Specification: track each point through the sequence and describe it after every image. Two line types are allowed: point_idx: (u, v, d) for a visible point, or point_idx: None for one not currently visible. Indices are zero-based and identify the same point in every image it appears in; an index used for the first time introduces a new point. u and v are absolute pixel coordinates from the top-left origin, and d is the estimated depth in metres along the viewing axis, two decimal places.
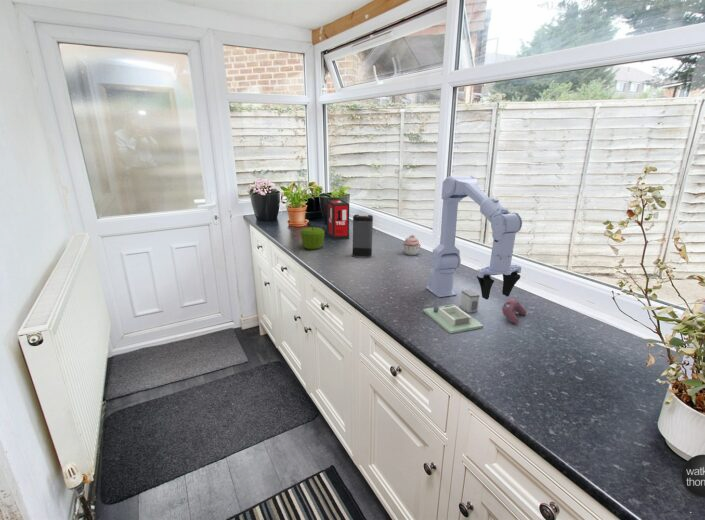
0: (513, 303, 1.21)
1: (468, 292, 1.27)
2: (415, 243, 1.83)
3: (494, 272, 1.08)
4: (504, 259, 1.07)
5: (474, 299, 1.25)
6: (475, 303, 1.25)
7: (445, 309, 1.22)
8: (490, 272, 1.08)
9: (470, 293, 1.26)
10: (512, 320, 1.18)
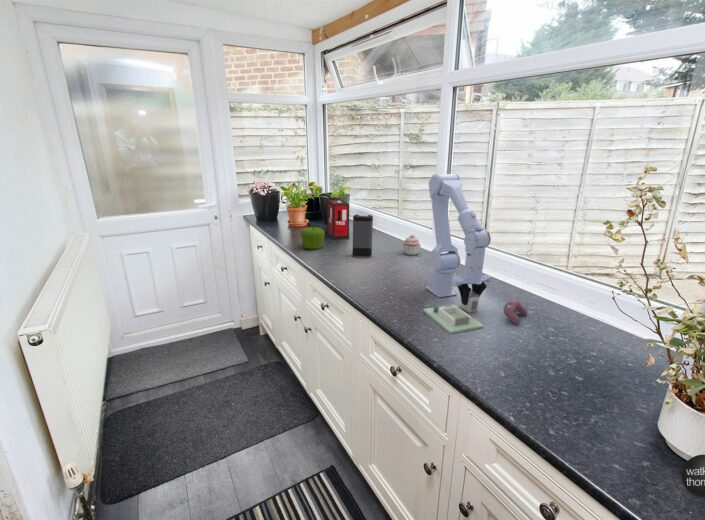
0: (514, 303, 1.20)
1: None
2: (415, 243, 1.83)
3: (467, 282, 1.22)
4: (475, 270, 1.21)
5: (474, 299, 1.25)
6: (475, 303, 1.25)
7: (445, 309, 1.22)
8: (463, 282, 1.22)
9: (470, 293, 1.26)
10: (513, 320, 1.18)
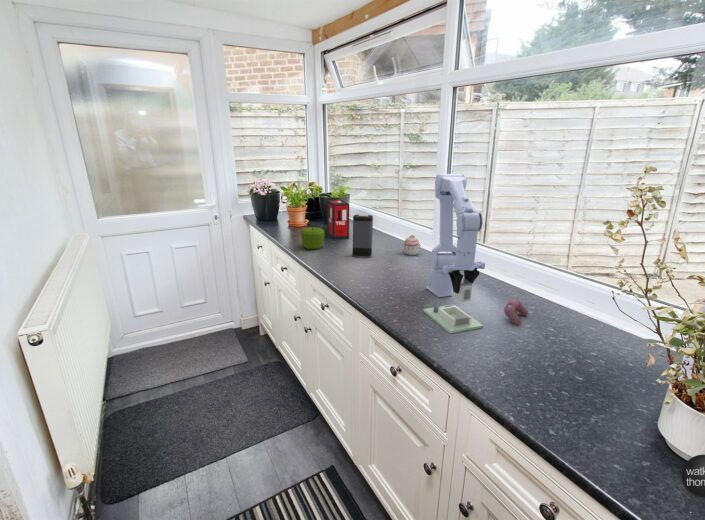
0: (515, 304, 1.20)
1: None
2: (415, 243, 1.83)
3: (458, 268, 1.14)
4: (467, 255, 1.13)
5: (467, 288, 1.16)
6: (468, 292, 1.16)
7: (445, 309, 1.22)
8: (454, 268, 1.14)
9: (462, 281, 1.17)
10: (514, 321, 1.18)
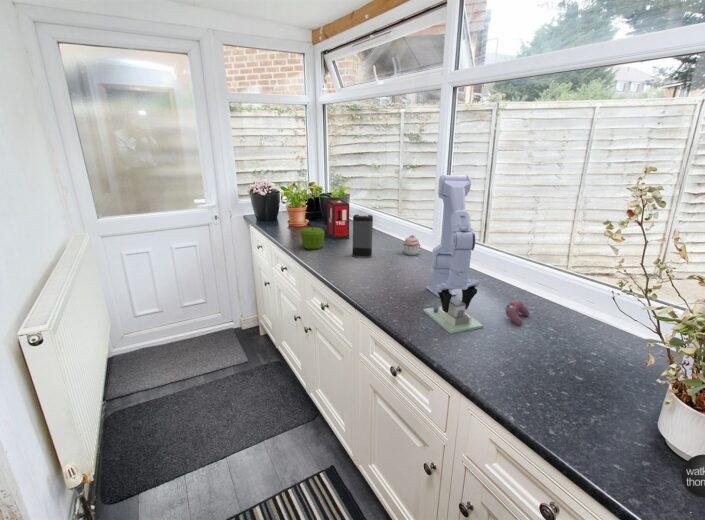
0: (516, 304, 1.20)
1: (454, 301, 1.18)
2: (415, 243, 1.83)
3: (451, 287, 1.13)
4: (460, 274, 1.12)
5: (460, 308, 1.16)
6: (461, 313, 1.16)
7: None
8: (448, 287, 1.13)
9: (456, 302, 1.17)
10: (516, 321, 1.18)
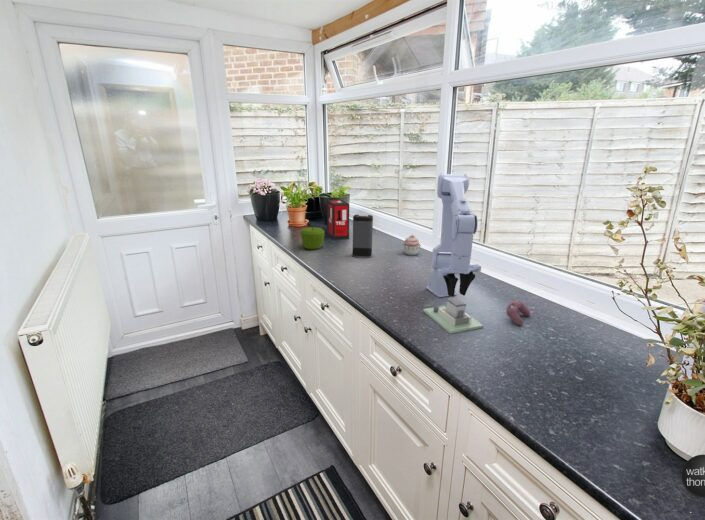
0: (517, 304, 1.20)
1: (454, 301, 1.18)
2: (415, 243, 1.83)
3: (453, 271, 1.12)
4: (462, 258, 1.11)
5: (460, 308, 1.16)
6: (461, 313, 1.16)
7: (445, 309, 1.22)
8: (449, 271, 1.12)
9: (456, 302, 1.17)
10: (517, 321, 1.17)
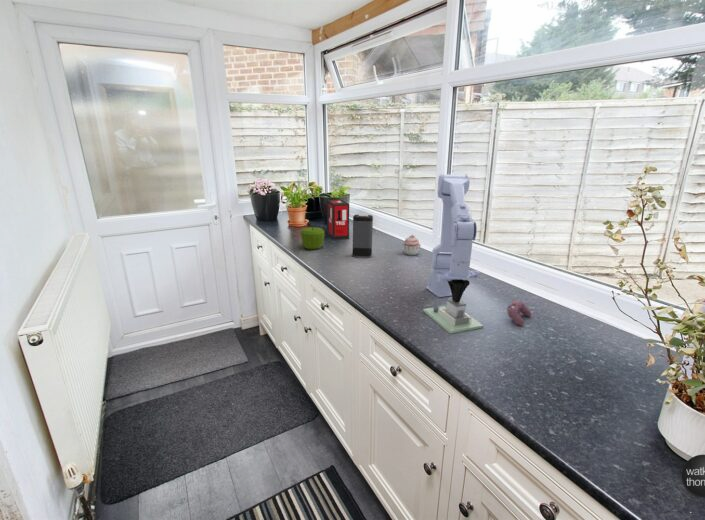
0: (518, 304, 1.20)
1: (454, 301, 1.18)
2: (415, 243, 1.83)
3: (453, 277, 1.12)
4: (462, 265, 1.11)
5: (460, 308, 1.16)
6: (461, 313, 1.16)
7: (445, 309, 1.22)
8: (449, 277, 1.12)
9: (456, 302, 1.17)
10: (517, 322, 1.17)
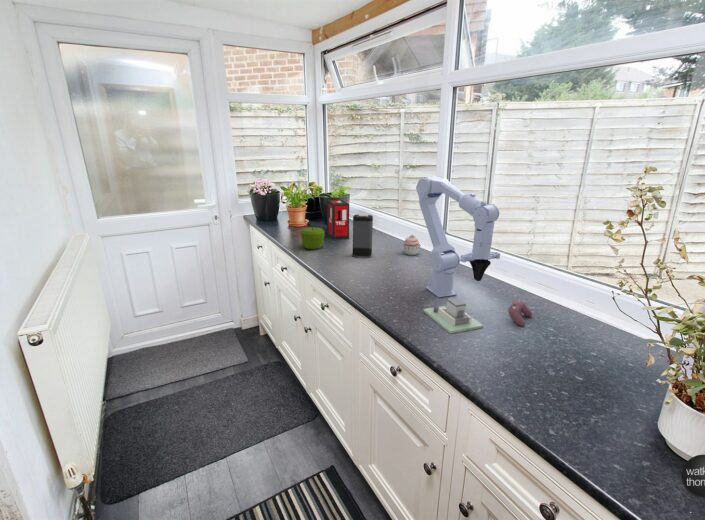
0: (519, 305, 1.20)
1: (454, 301, 1.18)
2: (415, 243, 1.83)
3: (475, 257, 1.22)
4: (484, 245, 1.21)
5: (460, 308, 1.16)
6: (461, 313, 1.16)
7: (445, 309, 1.22)
8: (472, 257, 1.22)
9: (456, 302, 1.17)
10: (519, 322, 1.17)
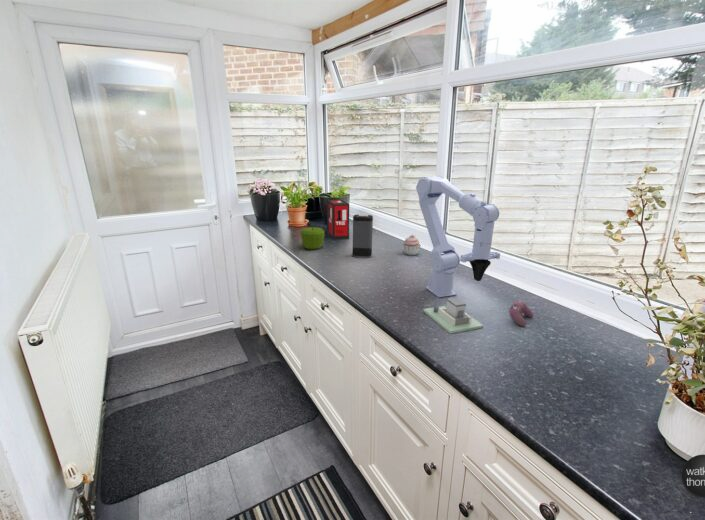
0: (520, 305, 1.19)
1: (454, 301, 1.18)
2: (415, 243, 1.83)
3: (475, 257, 1.22)
4: (484, 245, 1.21)
5: (460, 308, 1.16)
6: (461, 313, 1.16)
7: (445, 309, 1.22)
8: (472, 257, 1.22)
9: (456, 302, 1.17)
10: (519, 322, 1.17)
